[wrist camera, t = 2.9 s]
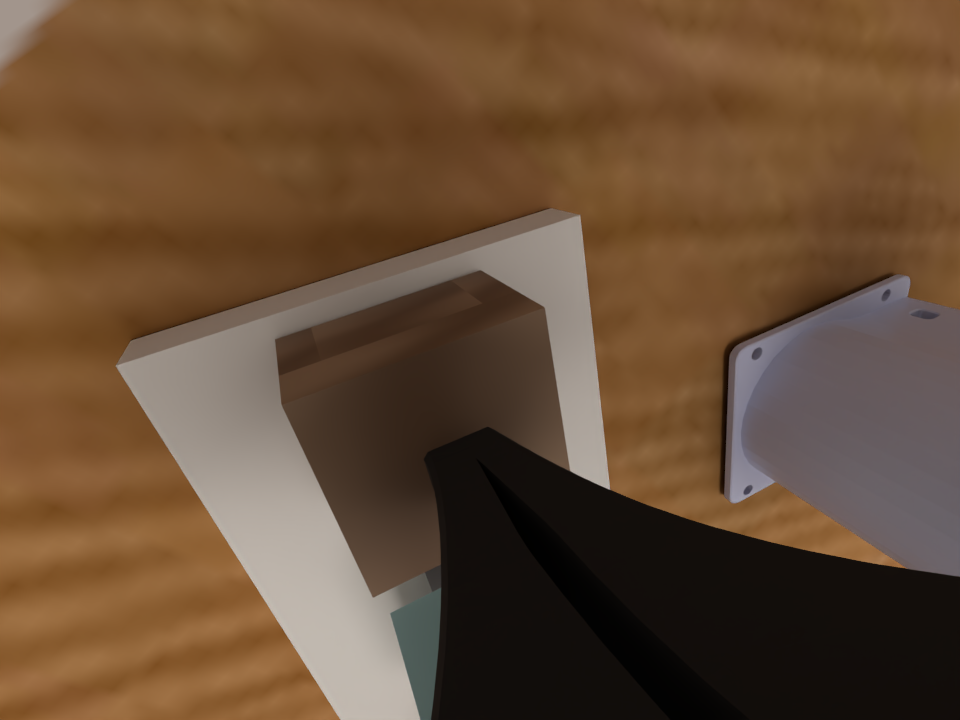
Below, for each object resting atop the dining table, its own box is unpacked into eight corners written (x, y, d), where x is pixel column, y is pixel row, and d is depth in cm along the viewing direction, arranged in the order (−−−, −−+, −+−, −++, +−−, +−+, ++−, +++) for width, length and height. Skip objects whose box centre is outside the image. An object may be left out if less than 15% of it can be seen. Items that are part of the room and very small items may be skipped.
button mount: (550, 207, 14) (629, 226, 11) (610, 647, 24) (660, 719, 21) (131, 340, 11) (87, 411, 8) (392, 775, 21) (415, 879, 18)
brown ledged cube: (480, 270, 12) (544, 307, 10) (515, 432, 15) (574, 498, 12) (274, 339, 11) (281, 405, 8) (348, 504, 13) (372, 597, 11)
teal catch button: (555, 530, 14) (625, 621, 12) (575, 635, 17) (637, 731, 14) (390, 613, 13) (425, 736, 10) (436, 714, 15) (475, 836, 13)
